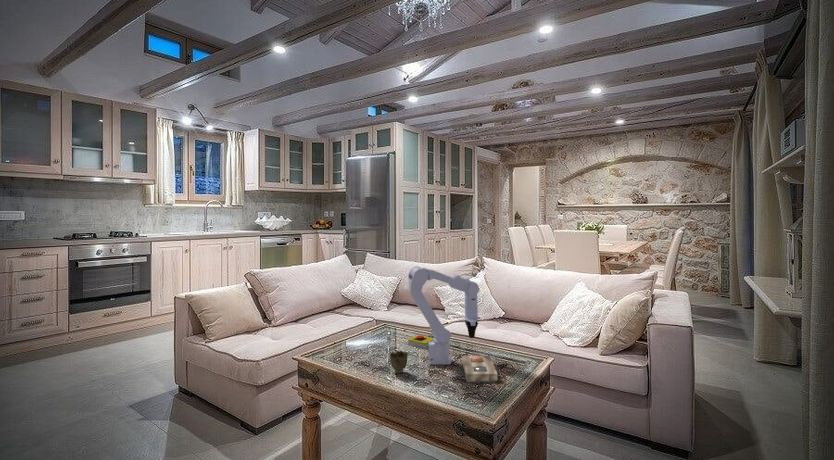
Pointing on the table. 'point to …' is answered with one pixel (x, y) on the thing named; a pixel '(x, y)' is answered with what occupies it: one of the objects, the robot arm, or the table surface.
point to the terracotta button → (476, 359)
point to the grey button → (480, 369)
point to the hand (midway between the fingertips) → (471, 337)
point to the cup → (398, 361)
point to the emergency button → (420, 341)
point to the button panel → (479, 376)
